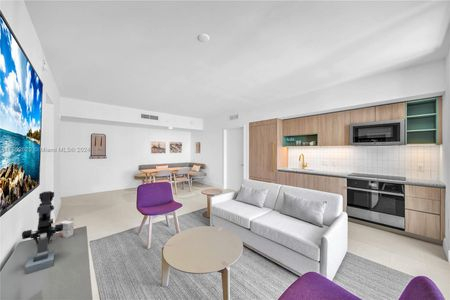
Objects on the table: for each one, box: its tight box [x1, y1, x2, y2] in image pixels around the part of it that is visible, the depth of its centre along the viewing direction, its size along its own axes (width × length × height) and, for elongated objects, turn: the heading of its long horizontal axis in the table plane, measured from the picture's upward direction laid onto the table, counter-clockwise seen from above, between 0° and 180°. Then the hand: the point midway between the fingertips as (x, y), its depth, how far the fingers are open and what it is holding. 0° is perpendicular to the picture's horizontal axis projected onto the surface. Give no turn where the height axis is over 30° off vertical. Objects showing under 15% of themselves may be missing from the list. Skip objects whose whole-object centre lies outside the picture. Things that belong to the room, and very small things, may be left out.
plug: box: [36, 233, 49, 256], centre depth 112 cm, size 4×4×12 cm
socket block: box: [24, 249, 55, 275], centre depth 111 cm, size 14×12×4 cm
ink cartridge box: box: [58, 216, 75, 238], centre depth 148 cm, size 9×5×15 cm, turn 84°
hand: (42, 243), depth 111 cm, fingers closed on plug, 4 cm apart
